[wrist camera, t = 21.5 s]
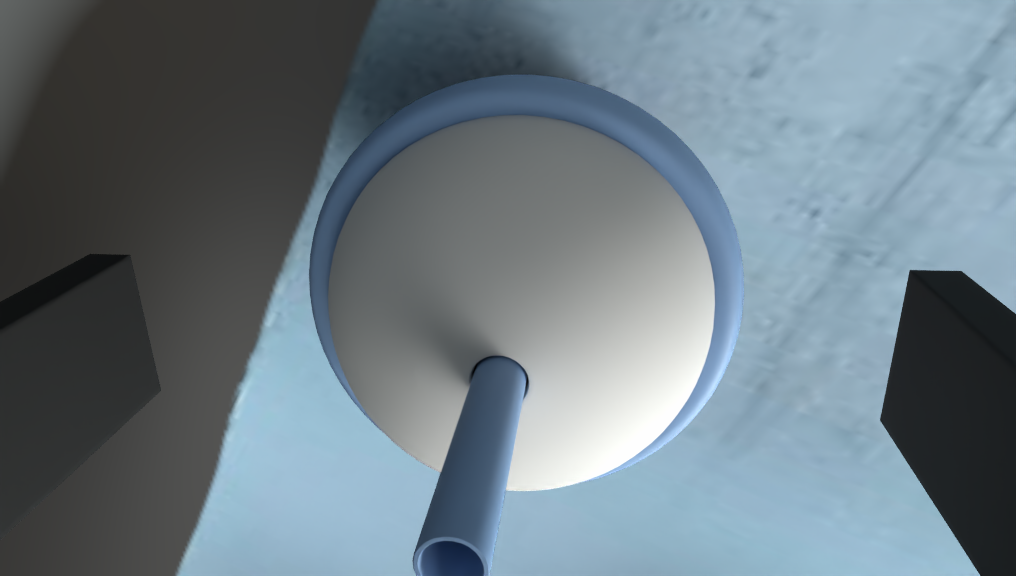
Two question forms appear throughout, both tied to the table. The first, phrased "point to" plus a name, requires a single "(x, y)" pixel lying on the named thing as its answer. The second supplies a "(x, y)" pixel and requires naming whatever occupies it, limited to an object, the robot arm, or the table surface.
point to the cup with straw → (523, 293)
